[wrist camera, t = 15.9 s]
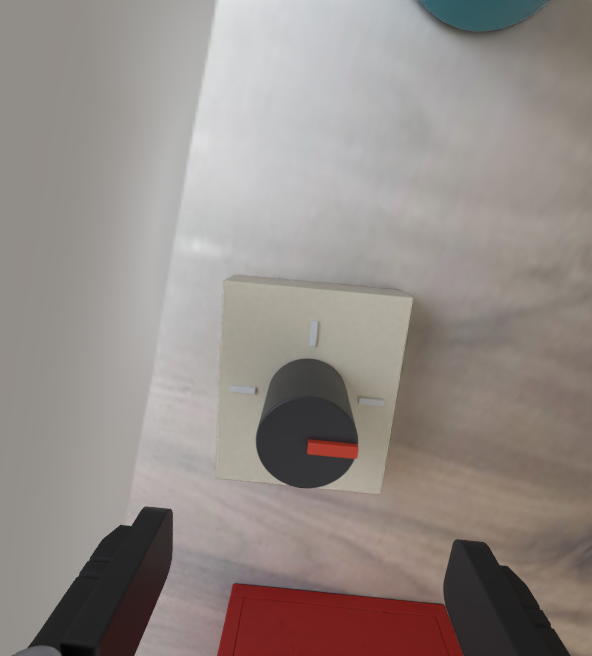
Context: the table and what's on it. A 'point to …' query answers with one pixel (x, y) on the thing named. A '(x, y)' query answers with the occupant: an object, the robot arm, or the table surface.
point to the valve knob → (307, 425)
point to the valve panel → (309, 343)
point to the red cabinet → (332, 625)
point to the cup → (483, 12)
